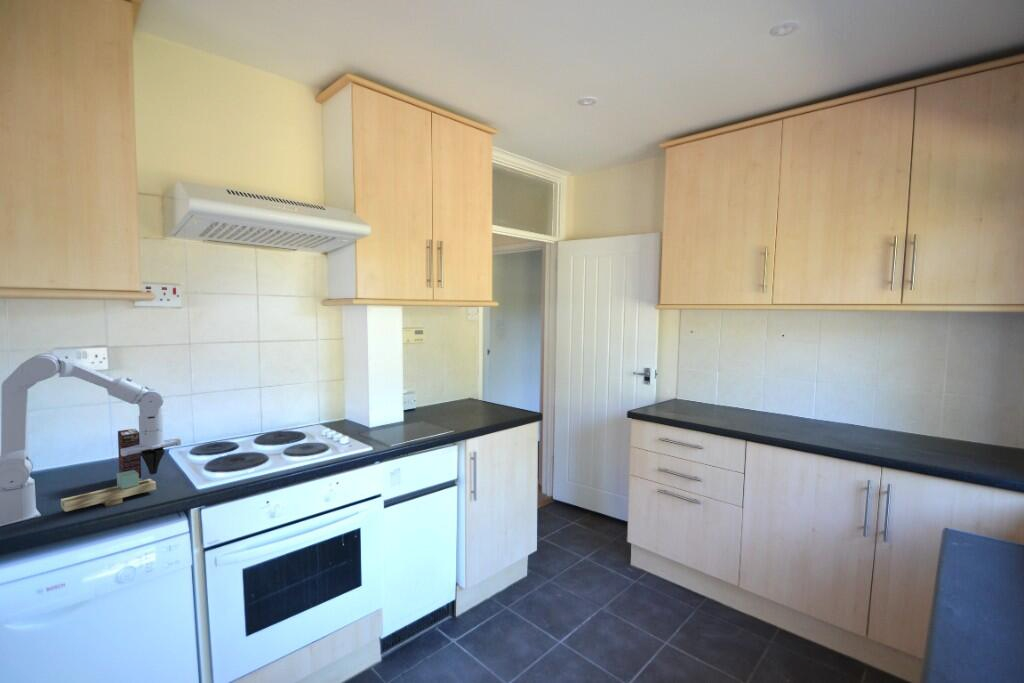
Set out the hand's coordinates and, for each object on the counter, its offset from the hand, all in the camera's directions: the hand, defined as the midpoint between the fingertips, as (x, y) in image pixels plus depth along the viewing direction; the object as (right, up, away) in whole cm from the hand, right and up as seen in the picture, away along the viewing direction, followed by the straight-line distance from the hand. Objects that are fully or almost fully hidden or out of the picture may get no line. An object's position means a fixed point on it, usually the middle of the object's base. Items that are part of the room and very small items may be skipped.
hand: (152, 473), depth 140 cm
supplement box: (-15, -5, +10) cm, 19 cm away
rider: (-4, -3, -5) cm, 7 cm away
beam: (-6, -6, -8) cm, 12 cm away
